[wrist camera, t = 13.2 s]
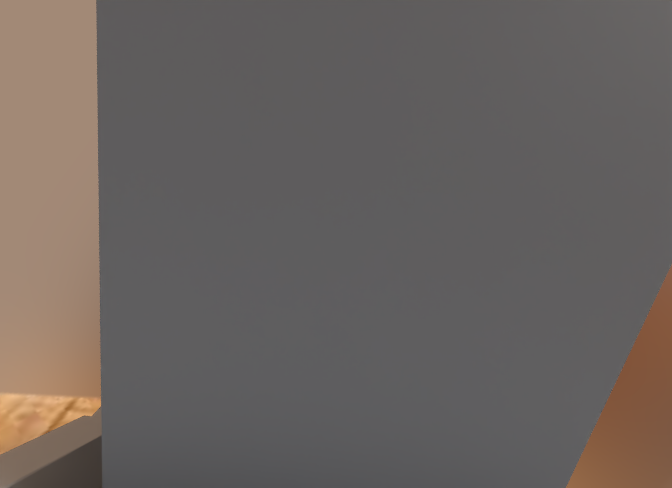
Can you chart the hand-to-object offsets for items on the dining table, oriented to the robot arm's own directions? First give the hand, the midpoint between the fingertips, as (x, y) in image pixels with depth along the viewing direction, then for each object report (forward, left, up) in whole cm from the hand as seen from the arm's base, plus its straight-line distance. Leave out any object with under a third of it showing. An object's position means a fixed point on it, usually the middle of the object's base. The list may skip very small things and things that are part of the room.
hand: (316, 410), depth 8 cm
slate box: (0, -1, -11) cm, 11 cm away
